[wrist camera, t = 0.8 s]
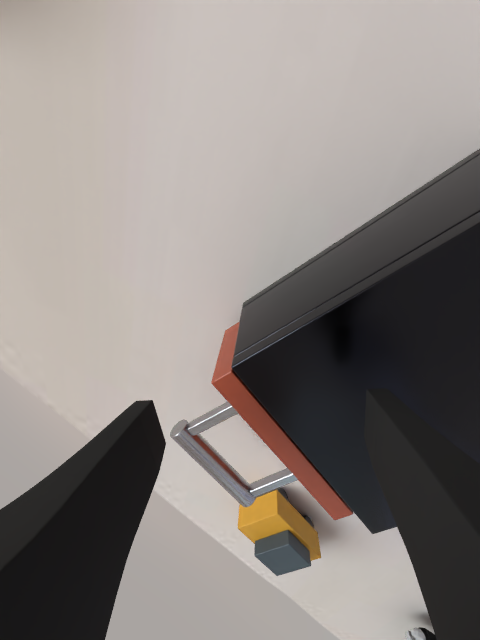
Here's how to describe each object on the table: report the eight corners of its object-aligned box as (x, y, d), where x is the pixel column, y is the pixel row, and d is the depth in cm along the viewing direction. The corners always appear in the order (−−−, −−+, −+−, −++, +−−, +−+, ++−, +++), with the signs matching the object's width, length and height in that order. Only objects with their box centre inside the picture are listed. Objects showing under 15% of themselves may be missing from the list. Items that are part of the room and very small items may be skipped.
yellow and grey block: (316, 523, 27) (323, 574, 24) (280, 536, 28) (282, 585, 25) (276, 481, 25) (278, 529, 22) (240, 496, 26) (236, 543, 23)
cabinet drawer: (261, 471, 23) (260, 546, 19) (164, 368, 20) (132, 427, 15) (531, 355, 18) (630, 420, 13) (458, 182, 14) (557, 183, 9)
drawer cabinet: (341, 433, 22) (372, 535, 16) (242, 303, 19) (230, 367, 12) (574, 332, 18) (750, 418, 11) (504, 131, 14) (708, 90, 8)
